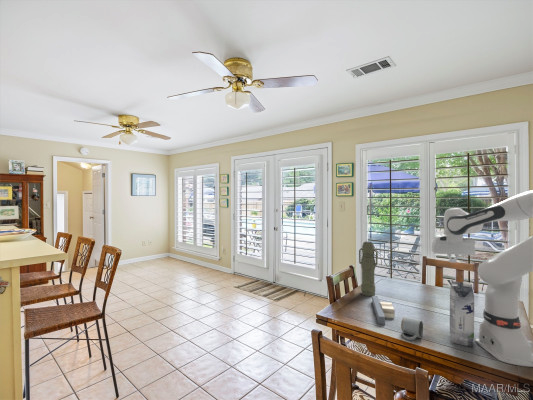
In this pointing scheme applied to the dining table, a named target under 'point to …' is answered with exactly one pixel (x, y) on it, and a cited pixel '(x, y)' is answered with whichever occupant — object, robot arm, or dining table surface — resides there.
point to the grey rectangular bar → (378, 310)
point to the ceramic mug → (412, 328)
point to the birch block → (388, 309)
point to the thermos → (368, 268)
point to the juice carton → (462, 313)
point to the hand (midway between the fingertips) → (452, 262)
